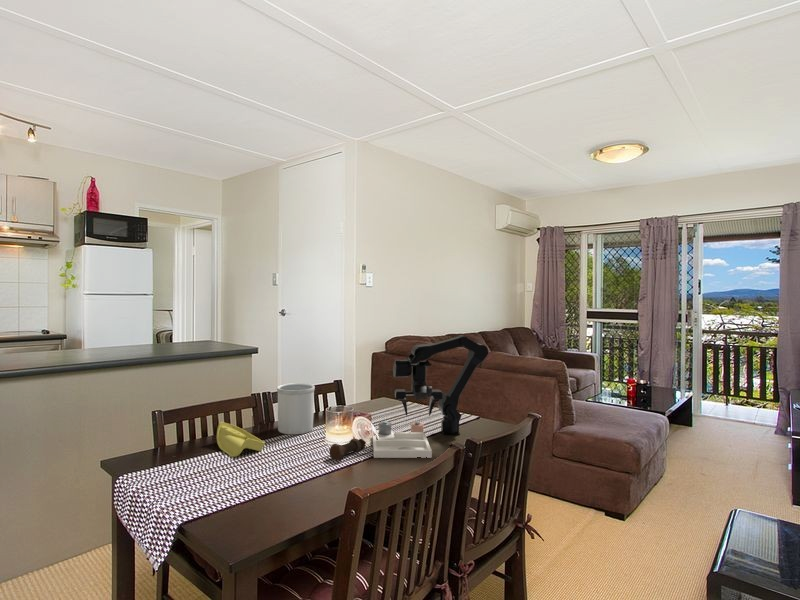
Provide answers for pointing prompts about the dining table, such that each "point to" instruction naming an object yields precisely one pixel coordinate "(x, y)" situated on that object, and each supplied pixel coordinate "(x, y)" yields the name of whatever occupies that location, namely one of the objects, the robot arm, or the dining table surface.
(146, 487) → the dining table surface
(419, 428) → the pink cube
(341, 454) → the dark brown dumbbell
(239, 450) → the plastic component
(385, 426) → the grey cylinder
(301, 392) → the utensil holder
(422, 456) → the white flat rectangular tray
